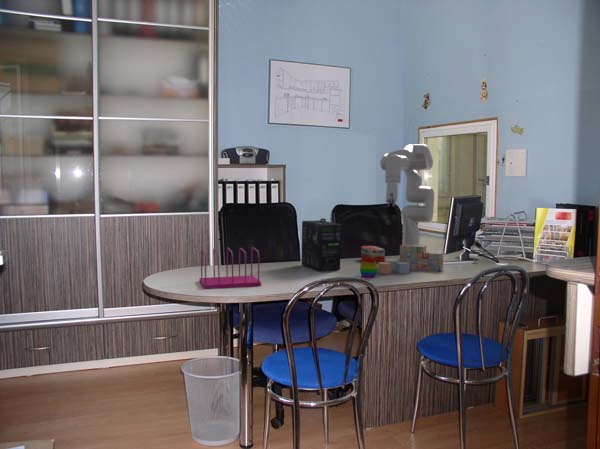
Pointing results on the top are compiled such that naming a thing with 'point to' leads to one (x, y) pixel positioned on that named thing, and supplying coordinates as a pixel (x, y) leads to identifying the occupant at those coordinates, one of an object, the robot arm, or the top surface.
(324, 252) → the headset box
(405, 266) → the slate-blue cube
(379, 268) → the terracotta cube
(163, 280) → the top surface
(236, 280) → the file sorter
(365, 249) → the medicine box
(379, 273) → the charcoal mat
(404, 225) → the robot arm
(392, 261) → the sage cube
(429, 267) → the stack of blocks
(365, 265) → the decorative egg
